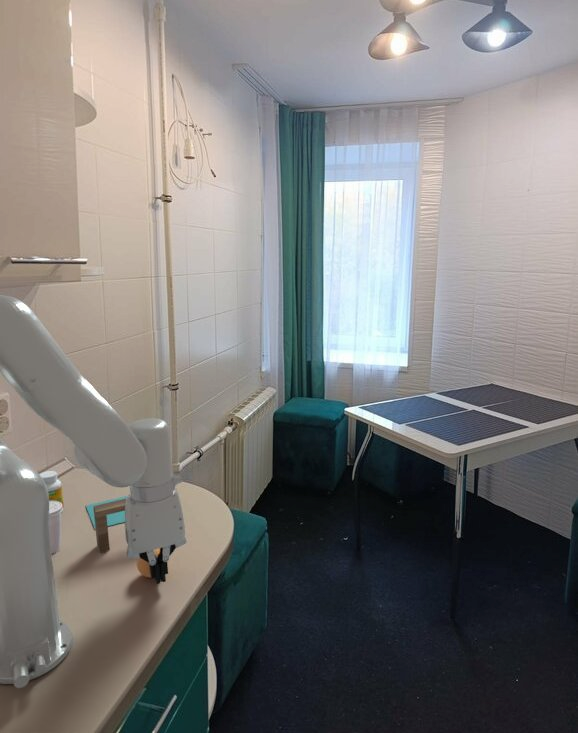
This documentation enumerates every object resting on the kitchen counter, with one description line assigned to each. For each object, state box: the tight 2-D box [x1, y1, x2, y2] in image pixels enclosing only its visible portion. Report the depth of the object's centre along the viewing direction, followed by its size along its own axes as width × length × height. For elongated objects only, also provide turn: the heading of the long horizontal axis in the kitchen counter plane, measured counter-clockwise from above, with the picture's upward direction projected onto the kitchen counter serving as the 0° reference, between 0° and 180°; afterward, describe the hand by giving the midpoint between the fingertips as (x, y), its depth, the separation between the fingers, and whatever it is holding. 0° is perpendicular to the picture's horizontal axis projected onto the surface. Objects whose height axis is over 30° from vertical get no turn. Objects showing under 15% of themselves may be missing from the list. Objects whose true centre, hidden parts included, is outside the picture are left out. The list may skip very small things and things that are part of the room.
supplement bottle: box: [38, 470, 65, 512], centre depth 125 cm, size 5×5×10 cm
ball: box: [136, 548, 160, 578], centre depth 100 cm, size 6×6×6 cm
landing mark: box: [85, 495, 128, 531], centre depth 126 cm, size 13×13×1 cm
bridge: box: [93, 499, 126, 553], centre depth 112 cm, size 3×14×9 cm, turn 120°
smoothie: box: [49, 501, 64, 555], centre depth 108 cm, size 6×6×14 cm
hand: (159, 578), depth 97 cm, fingers closed
